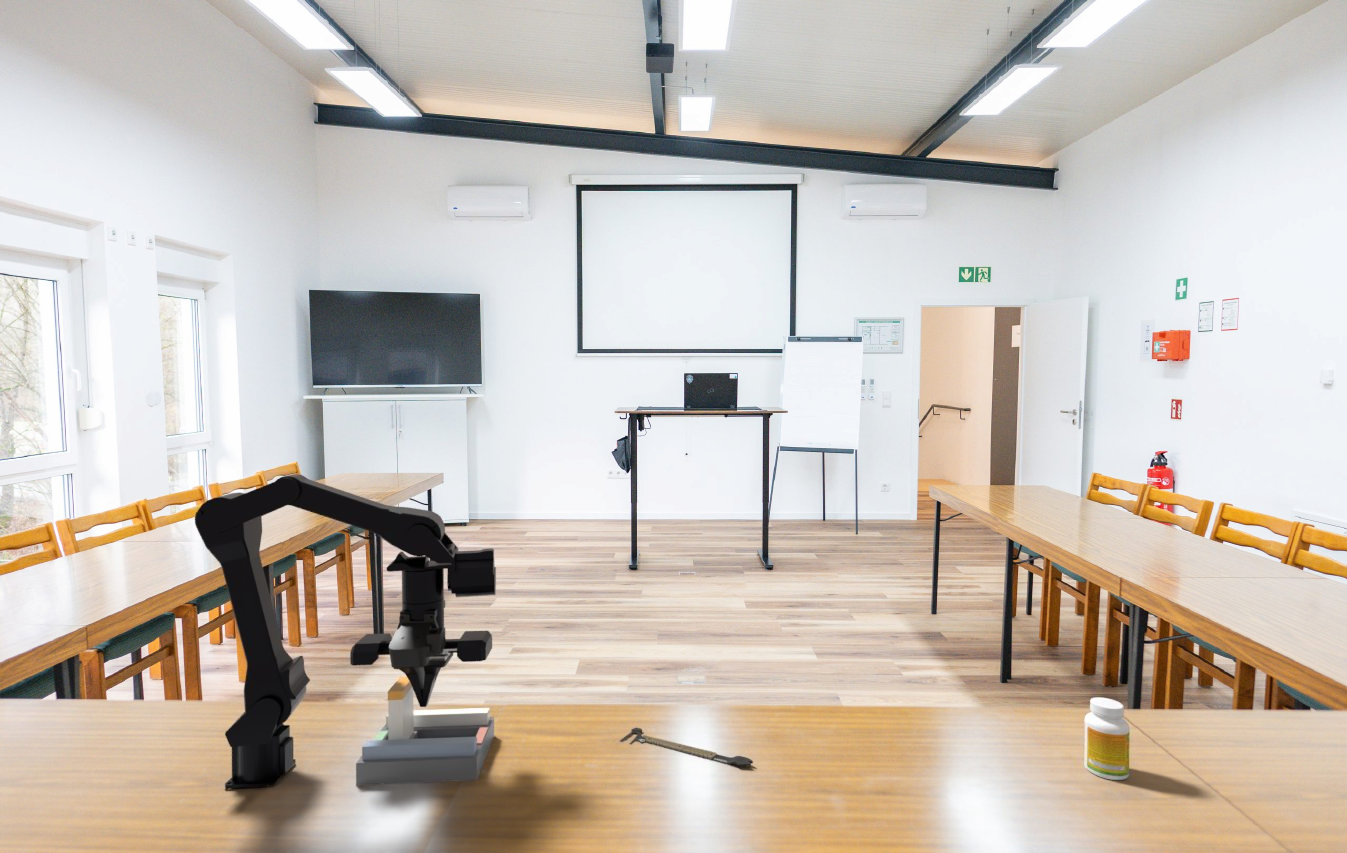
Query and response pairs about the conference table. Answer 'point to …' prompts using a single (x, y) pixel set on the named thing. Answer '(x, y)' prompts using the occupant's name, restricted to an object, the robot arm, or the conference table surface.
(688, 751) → the tactical tomahawk
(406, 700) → the handle
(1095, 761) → the supplement bottle
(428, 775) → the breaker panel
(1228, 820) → the conference table surface
